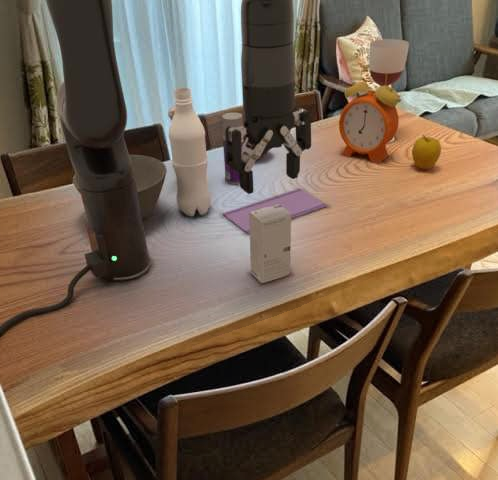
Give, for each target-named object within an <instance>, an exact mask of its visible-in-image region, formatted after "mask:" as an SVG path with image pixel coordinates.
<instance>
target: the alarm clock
mask: <svg viewBox="0 0 498 480" xmlns="http://www.w3.org/2000/svg"><path fill="white" fill-rule="evenodd" d="M363 71H368V69H366V68H362V69H361V72H360V79H359V82H355V81H353V82H352V85H351V86H349V87H348V88H347V89H346V90H345V92H344V97H345V99H347V98H350V97H352V96H354V95H356V97H355V98H353V99H352V100H350V101H349V102H348V103H347V104H345V106H343V109H342V111H341V113H340V115H339V121H338V130H339V133H340V136H341V139H342V141H343V143H345V145H346V146H345V148H344V150H343V152H342V156H347V157H351V156H352V155H354V154H355V153H358V154H360V155H361V154H362V155H368V157H369V160H370V162H372V163H376V164H380V163H381V162H382V161H383V160H384V159H386V158H388V157H389V154H388V151H387V147H386V144H389V143H391V142H392V141H391V140H392V139H393V137H394V138H395V136H396V134H397V132H398V129H399V126H400V125H399V124H400V123H399V118H400V117H399V114H398V113H399V112H398V111H397V107H396V106H397V105H398V103H399V98H400V97H399V94H398V92H397V91H396V90H395V89H394V88H393V87H391V86H390V85H389V86H386V82H385V85H384V86H379V87H378V88H377V89H376V90H375V89H372V88H371V89H370V88H369V85H368V83H366V82H365V81H362V76H363V75H362V74H363ZM370 71H373V70H369V72H370ZM376 72H380V71H376ZM383 73H386V72H383ZM386 77H387V73H386ZM366 89H368V90H367V92H366V93H363V94H361V95H360V92H362V91H364V90H366ZM390 141H391V142H390ZM388 142H389V143H388Z"/></svg>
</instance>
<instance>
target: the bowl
mask: <svg viewBox="0 0 498 480" xmlns="http://www.w3.org/2000/svg"><path fill="white" fill-rule="evenodd" d="M129 156H130V158H131V161H132V165H133V170H134V176H135V181H136V187H137V192H138V198H139V204H140V209H141V215H142V219H144V218H145V217H146V216H147V215H149V213H150V212H151V211H152V210H153V209H154V207H155V206H156V204H157V202H158V201H159V198H160V195H161V192H162V190H163V187H164V182H165V180H166V176H167V166H166V164H165V163H164V162H163V161H161V160H160V159H157V158H155V157H152V156H148V155H142V154H129ZM72 184H73V186H74V187H75V189H76V191H77V192H78V193H79V194H80V195H81V193H80V189H79V185H78V182H77V178H76V175H75V174H74V175H73V176H72Z"/></svg>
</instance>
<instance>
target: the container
mask: <svg viewBox="0 0 498 480" xmlns="http://www.w3.org/2000/svg"><path fill="white" fill-rule="evenodd" d="M243 119H244V118H243V114H242V113H240V112H226V113H223V114H222V116H221V120H222V121H221V123H222V125H221V126H222V145H223V160H224V161H223V163H224V175H225V178H224V179H225V182H226V184H229V185H240V184H239V171H235V170H234V169H232V168H231V167H229V166H227V165H226V128H227V127H228V126H231V127H233V128H236V127H241V126H243ZM243 140H244V137H243ZM243 144H244V141H243V142H241V153H242V146H243Z"/></svg>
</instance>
